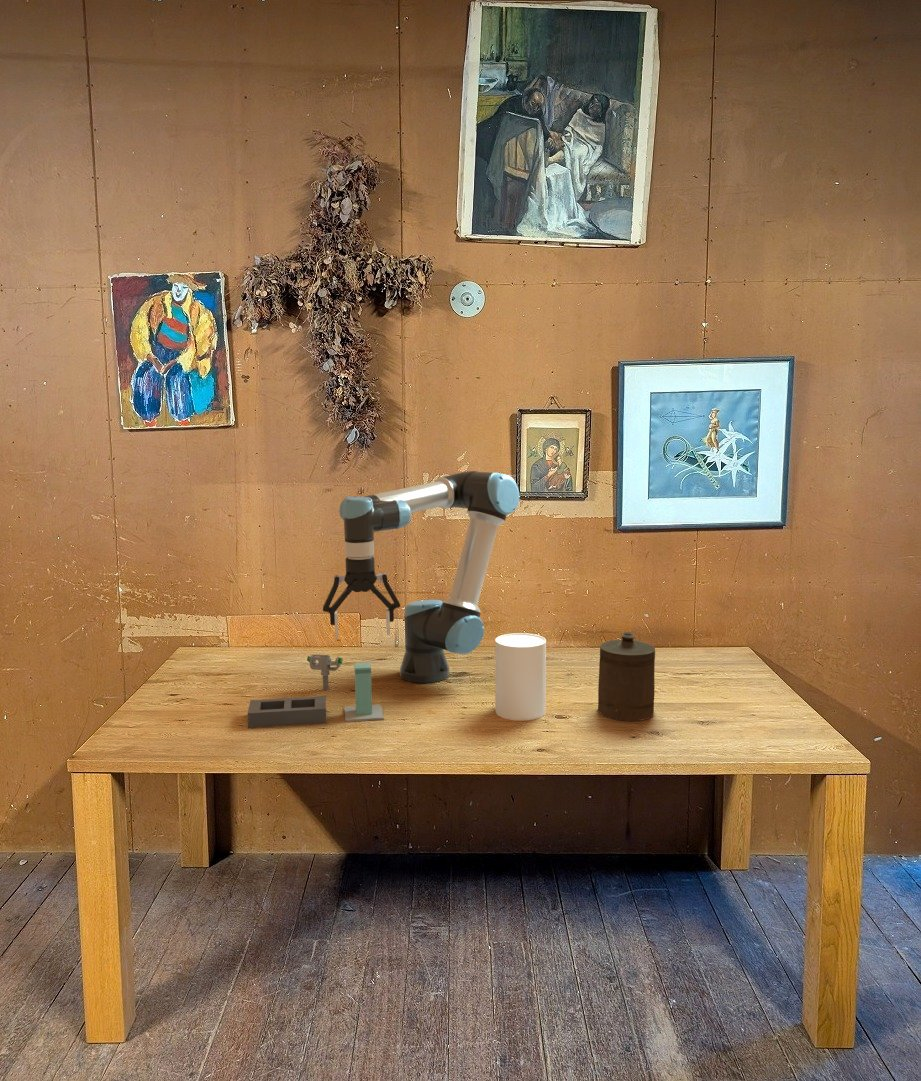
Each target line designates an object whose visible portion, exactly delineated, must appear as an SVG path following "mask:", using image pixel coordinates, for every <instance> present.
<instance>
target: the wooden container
mask: <svg viewBox="0 0 921 1081" xmlns="http://www.w3.org/2000/svg"><path fill="white" fill-rule="evenodd" d="M635 638H636V637H635V635H634V633H632V632H630V631H626V632H624V633H622V634H621V639H612V640H606V641H604V642H602V643H601V644H600V646H599V662H598V663H599V667H598V668H599V669H598V685H597V686H598V687H597V693H598V694H597V695H598V696H597V698H598V699H597V700H598V701H597V702H598V705H597V709H598V710H597V711H598V713H600V714H601V716H604V717H605V718H608V719H612V720H615V721H622V722H637V721H644V720H648V719H650V718H651V717H653V715H654V712H655V691H656V690H655V688H656V686H655V670H656V668H655V667H656V665H655V664H656V663H655V659H656V648H655V646H654V645H652V644H650V643H648V642H645V641H641V640H635Z"/></svg>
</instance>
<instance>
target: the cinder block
mask: <svg viewBox="0 0 921 1081" xmlns="http://www.w3.org/2000/svg"><path fill="white" fill-rule="evenodd" d="M326 697H327V696H326V695H318V696H317V695H316V696H314V695H313V696H300V697H283V698H280V697H279V698H267V699H266V698H265V699H264V698H263V699H250V701H249V706H248V710H247V726H248V727H247V729H253V728H256V729H257V728H270V727H271V728H272V727H273V728H274V727H285V726H287V727H288V726H304V725H305V726H306V725H322V724H327V701H326V700H327V698H326Z"/></svg>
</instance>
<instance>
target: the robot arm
mask: <svg viewBox="0 0 921 1081" xmlns="http://www.w3.org/2000/svg"><path fill="white" fill-rule="evenodd" d="M517 485H518V484H517V483H516V481H515V479H514V478H513V477H512V476H511V475H508V474H504V473H501V472H500V473H499V472H487V471H484V472H483V471H476V470H469V471H462V472H457V473H454V474H449V475H445V476H441V477H438V478H436V479H435V480H434V482H428V483H424V484H419V485H418V484H417V485H414V486H407V487H404V488H401V489H400V488H399V489H394V490H389V491H385V492H379V493H375V494H374V493H373V494H370V495H365V496H347V497H345V498H343V499H342V500H341V502H340V504H339V516H340V518H341V520H343V527H344V528H343V531H344V554H345V556H346V558H345V575H344V576H341V575H338V574H335V575H334V577H333V584H332V586H331V589H330V591H329V594H328V595H327V598H326V599H325V601H324V604H323V605H322V611H323V612H324V613H325V612H326V613H328V614H329V621H330V625H331V626H334V630H335V631H334V632H335V634H334V635H335V636H334V637H335V639H339V623H338V622H339V621H338V620H339V619H338V618H339V617H338V611H337V610H338V609H339V607H341V605H342V604H343V602H344V601H345V600H346V599H347V598H348V596H349V595H350V594H351V593H352V592H354V593H362V592H363V593H367V592H369V591H371V592H372V593H373V594H374V595H375V596H376V597H377V598H378V599H379V600H380V602H382V603H383V605H385V607H387V608H385V623H386V624H385V626H386V627H385V628H386V635H387V636H390V635H391V622H392V623H393V622H394V621H395V614H394V611H395V609H398V608H401V603H400V601H399V600H398V598H397V595H396V594H395V592H394V590H393V589H392V587H391V584H390V583H389V582H388V581H389V580H388V576H387V573H386V572H382V573H380V574H376V571H375V570H376V569H375V566H376V565H375V557H374V555H375V543H374V542H375V541H374V540H375V539H374V537H375V535H374V534H375V533H377V532H382V531H390V530H398V529H401V528H405V527H407V526H408V525H409V523H410V522H411V519H412V514H413V513H419V512H423V511H427V510H430V509H431V510H432V509H436V508H441V509H443V510H446V509H452V508H453V509H455V508H458V509H467V510H466V513H467V515H468V517H469V521H468V522H469V523H468V526H467V530H466V533H465V538H464V542H463V545H462V548H461V552H460V556H459V560H458V563H457V566H456V567H457V568H456V572H455V575H454V578H453V582H452V586H451V590H450V594H449V597H448V598H446V599H444V600H443V601H442V600H440V599H427V600H426V599H423V600H417V601H412V602H409V603H408V604H406V606H405V608H404V648H405V649H404V650H405V651H404V655H403V658H402V660H401V664H400V668H399V677H400V678H401V679H402V680H405V681H407V682H410V683H411V682H412V683H423V684H424V683H425V684H426V683H435V682H440V681H443V680H445V679H447V678H449V677H450V666H449V663H448V660H447V656H446V654H445V651H447V652H449V653H453V654H459V655H467V654H470V653H472V652H473V651H474V650H476V649H477V648H478V647H479V645H480V644H481V642H482V641H483V638H484V634H485V627H484V622H483V620H482V619H481V613H482V612H481V609H480V608H479V601H480V597H481V593H482V589H483V586H484V583H485V582H484V581H485V577H486V574H487V570H488V566H489V562H490V558H491V557H492V552H493V548H494V545H495V540H496V536H497V532H498V529H499V527H500V526H502V524H504V523H506V519H507V515H511V514H512V513H513V512H514V511H515V510H516V509H517V508H518V506H519V502H520V491H519V490H520V489H519V487H518V486H517ZM377 580H378V581H379V582H380V583H382V584H383V586H384V588H385V589H386V591H387V593H388V595H389V597H390V598H391V600H392V602H393V603H392V602H390V600H388V598H387V597H386V596H385V595H384V594H383V593H382V592H381V591H380V590H379V588H377V587H376V585H375V583H376V582H377ZM343 582H345V584H347V586H346V588H344V590H343V592H342V593H341V594H340V595H339V597H337V599H336V600H335V601H334V603H333V604H332V605H331V603H332V601H333V599H334V597H335V595H336V593H337V592H338V591H337V590H338V588H339V585H342V583H343Z"/></svg>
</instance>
